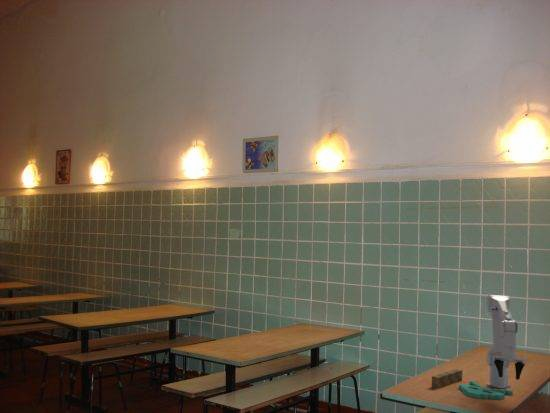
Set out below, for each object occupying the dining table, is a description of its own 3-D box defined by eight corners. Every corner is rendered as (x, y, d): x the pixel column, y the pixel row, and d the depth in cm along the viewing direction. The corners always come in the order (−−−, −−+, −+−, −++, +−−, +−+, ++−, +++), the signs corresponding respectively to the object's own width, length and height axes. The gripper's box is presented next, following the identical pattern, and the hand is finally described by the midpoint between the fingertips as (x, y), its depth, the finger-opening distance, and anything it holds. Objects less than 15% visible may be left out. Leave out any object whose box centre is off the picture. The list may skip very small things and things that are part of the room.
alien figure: (471, 385, 273) (452, 392, 259) (471, 380, 274) (452, 387, 260) (512, 395, 259) (493, 403, 245) (512, 390, 259) (494, 398, 245)
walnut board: (456, 378, 282) (456, 368, 282) (462, 380, 280) (462, 370, 280) (431, 386, 265) (431, 376, 265) (437, 388, 263) (437, 377, 263)
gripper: (489, 345, 255) (489, 376, 252) (521, 348, 244) (521, 380, 242) (496, 345, 259) (496, 375, 257) (528, 348, 249) (528, 380, 246)
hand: (509, 378), depth 250 cm, fingers open, 7 cm apart
